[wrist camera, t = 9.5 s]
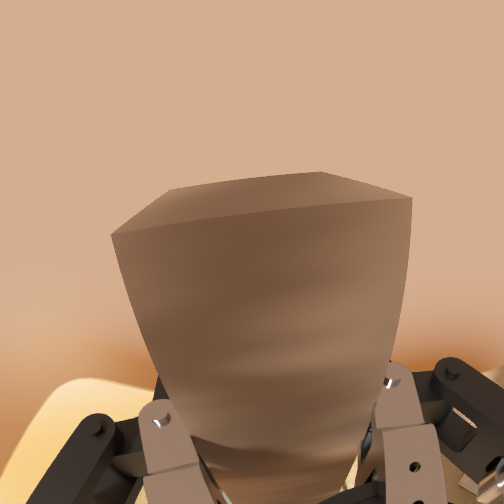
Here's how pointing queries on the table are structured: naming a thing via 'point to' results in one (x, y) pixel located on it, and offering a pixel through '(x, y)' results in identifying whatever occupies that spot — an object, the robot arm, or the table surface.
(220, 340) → the walnut post
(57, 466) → the robot arm
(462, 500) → the table surface
